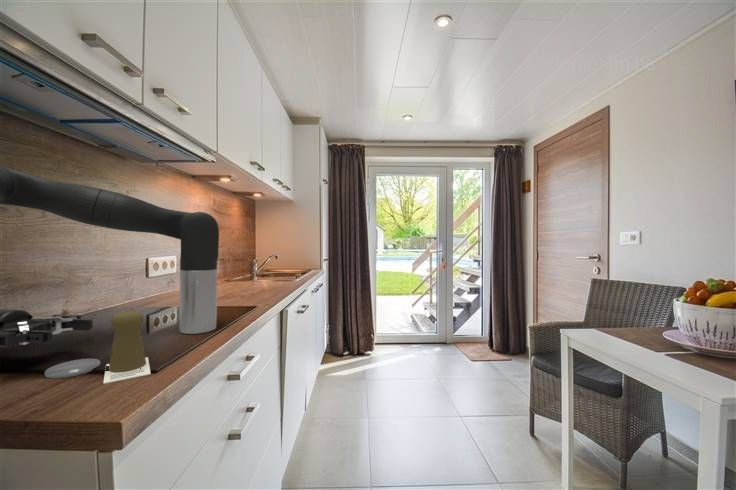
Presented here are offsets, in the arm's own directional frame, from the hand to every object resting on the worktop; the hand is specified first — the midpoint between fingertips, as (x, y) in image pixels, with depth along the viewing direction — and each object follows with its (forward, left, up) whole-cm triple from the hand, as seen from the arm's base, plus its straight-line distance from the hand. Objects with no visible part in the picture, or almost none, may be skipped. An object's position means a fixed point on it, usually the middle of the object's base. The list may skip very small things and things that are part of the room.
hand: (72, 330), depth 64 cm
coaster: (+2, 0, -7) cm, 8 cm away
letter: (+8, +9, -7) cm, 14 cm away
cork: (+7, +9, -7) cm, 13 cm away
